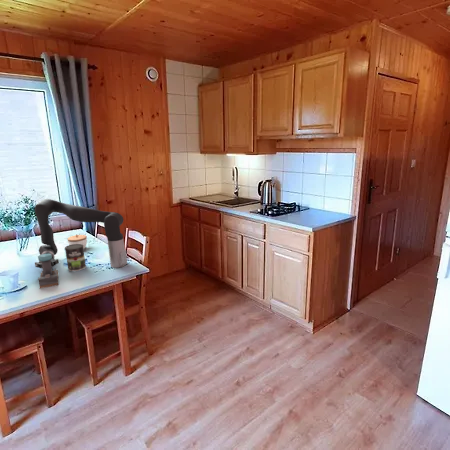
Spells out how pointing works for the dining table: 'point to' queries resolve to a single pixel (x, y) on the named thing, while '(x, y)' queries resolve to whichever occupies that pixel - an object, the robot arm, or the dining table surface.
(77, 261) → the coffee can
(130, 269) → the dining table surface
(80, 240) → the lidded bowl
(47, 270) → the knob
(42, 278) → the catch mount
